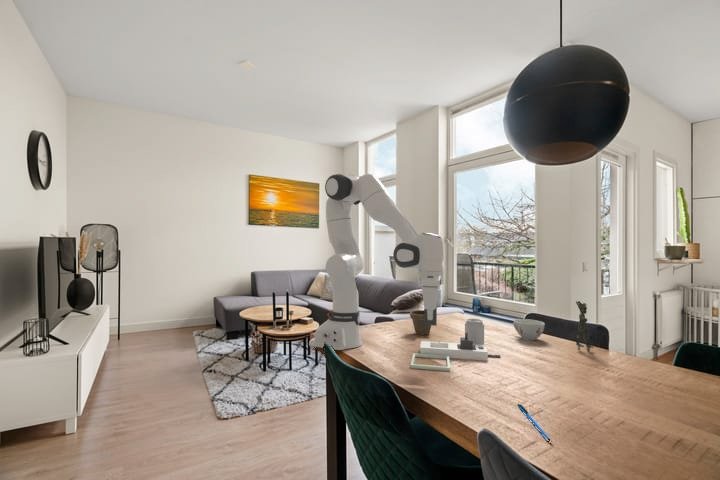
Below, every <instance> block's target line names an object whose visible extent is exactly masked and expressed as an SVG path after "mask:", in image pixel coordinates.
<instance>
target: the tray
mask: <svg viewBox="0 0 720 480" xmlns="http://www.w3.org/2000/svg"><path fill="white" fill-rule="evenodd" d="M411 356H412V357H411V361H410V369H421V370H432V371H433V370H435V371H442V372H443V371H445V372H451V364H450V362H451V361H450V358H449V356H446V355H432V354H420V353H414V352H413V353H412V355H411ZM416 358H426V359H428V358H430V359H442V360H446V364H447V365H446V366H444V365H443V366H442V365H441V366H439V365H430V364H429V365H427V364H416V363H415V360H416Z"/></svg>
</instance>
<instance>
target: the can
mask: <svg viewBox="0 0 720 480" xmlns="http://www.w3.org/2000/svg"><path fill="white" fill-rule="evenodd" d="M465 332H467V333H468V338H472V340H473V344H476V345H485V324H484V323H483V320H482V319H479V318H467V319H466V321H465V322H464V333H465Z"/></svg>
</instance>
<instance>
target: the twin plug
mask: <svg viewBox="0 0 720 480" xmlns="http://www.w3.org/2000/svg"><path fill="white" fill-rule="evenodd" d="M459 340H460V341H459V343H460V349H464V350H473V340H472V338H468V333H467V332H465V331H464V337H459Z"/></svg>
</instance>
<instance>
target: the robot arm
mask: <svg viewBox="0 0 720 480" xmlns="http://www.w3.org/2000/svg"><path fill="white" fill-rule="evenodd" d="M324 189H325V190H324V191H325V194H326V196H328V199H326V202H325V221H326V228H327V236H328V240H329V243H330V244H331V246H332V248H333V251H334V254H332V255H331V256H330V257H329V258H328V259H327V260H326V263H325V270H326V274H327V275H328V276H329V281H330V282H329V283H330V286H331V291H332V292H331V293H332V308H331V310H330V311H329V312H328V313H327V317H328V319H327V320H326V321H324V322H323V323H322V324H321V325H320V326H318V327H317V328H316V331H315V333H314V337H312V338H311V339H310V340H309V343H308V345H309V347H314V348H321V349H324V348H323V346H324V342H327V343H329V344H331V345H332V346H333V348H334V349H333V350H335V351H343V350H348V349H353V348H354V349H355V348H359V347H361V346H362V345H363V342H362V338H361V333H360V332H361V330H360V321H361V313H360V310H359V303H360V302H359V296H360V295H359V291H358V288H357V283H356V277H357V276H358V275H359V274H361V272H362V271H363V269H364V266H365V264H364V263H365V262H364V260H363V257H362V256H361V253H360V250H359V246H358V242H357V240H356V237H355V229H354V224H353V218H352V211H351V210H352V206H353V205H355V206H358V205H359V204H361V205H362V206H363V209H364V210H365V212H366V213H367V215H368V216H369V217H370V218H371V219H372V220H374V221H376V222H379V223H381V224H384V225H385V226H387V227H389V228H391V229H392V230H394V232H395V233H396V234H397V235H398V237H399V239H400V240H401V241H402V242H401V243H398V244H397V245H396V246H395V247H394V250H393V253H392V255H393V256H392V257H393V260H394V263H395V264H396V265H397V266H398V267H399V268H403V269H415V268H416V269H417V275H418V276H417V283H418V284H419V285H420V287H421V290H422V292H421V293H422V301H423V309H424V308H425V309H427V319H428V320H433V310H435V308H436V306H437V302H438V301H437V300H438V293H439V290H440V288H441V285H444V277H445V276H444V265H443V262H444V259H445V258H444V257H445V256H444V250H445V249H444V242H443V238H442V236H441V235H439V234H435V233H433V232H432V233H431V232H421V233H420V234H418V233H417V232H416V230H415V229H414V228H413V227H412V225H411V223H410V222H409V221H408V219H406V217H405V216H404V215H403V213H402V212H401V210H400V209H399V208H398V206H397V205H396V203H395V202H394V199H393V198H392V197H391V196H390V193H389V192H388V191H387V188H386V187H385V186H384V185H383V183H382V182H381V181H380V180H379V179H378V178H377V176H375V175H374V174H371V173H366V174H363V175H361V176H359V175H355V174H341V173H337V174H332V175H330V176H329V177H328V178H327V179H326V181H325V184H324Z"/></svg>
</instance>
